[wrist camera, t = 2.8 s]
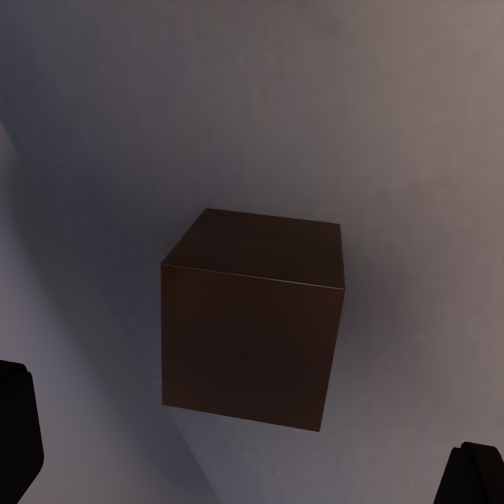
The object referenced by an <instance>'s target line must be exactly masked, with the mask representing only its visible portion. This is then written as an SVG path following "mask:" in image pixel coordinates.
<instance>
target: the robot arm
mask: <svg viewBox="0 0 504 504" xmlns="http://www.w3.org/2000/svg"><path fill="white" fill-rule="evenodd" d="M43 461H44V451H43V445H42V438H41V432H40V425H39V419H38V412H37V406H36V399H35V392H34V386H33V379H32V375H31V373H30V372H28V371H27V369H26V366H25V365H24V364H20V363H15V362H8V361H3V360H0V504H17V503H18V501H19V500H20V499H21V497H22V496H23V495H24V493H25V492H26V490H27V489H28V488H29V486H30V485H31V483H32V482H33V481H34V479H35V478H36V476H37V475H38V473H39V472H40V470H41V468H42V465H43ZM433 504H504V462H503V460H502V457H501V455H500V453H499V451H498V450H497V448H495V447H494V446H488V445H482V444H476V443H471V442H464V443H462V445H461V447H460V448H456V447H454V448H453V449H452V451H451V453H450V456H449V459H448V462H447V465H446V468H445V471H444V474H443V477H442V479H441V482H440V485H439V488H438V491H437V494H436V497H435V500H434V503H433Z"/></svg>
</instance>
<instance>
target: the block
mask: <svg viewBox="0 0 504 504" xmlns="http://www.w3.org/2000/svg"><path fill="white" fill-rule="evenodd" d="M344 295H345V277H344V265H343V253H342V240H341V228H340V225H339V224H331V223H323V222H314V221H306V220H298V219H290V218H281V217H273V216H265V215H257V214H248V213H240V212H232V211H224V210H215V209H207V208H206V209H205V210H204V211H203V213H202V214H201V215H200V216H199V217H198V219H197V220H196V221H195V222H194V224H193V225H192V226H191V227H190V228H189V230H188V231H187V232H186V233H185V235H184V236H183V237H182V238H181V239H180V241H179V242H178V243H177V244H176V245H175V247H174V248H173V249H172V250H171V252H170V253H169V254H168V255H167V256H166V258H165V259H164V260H163V261H162V262H161V346H162V405H166V406H172V407H178V408H184V409H190V410H195V411H201V412H207V413H213V414H218V415H224V416H230V417H236V418H241V419H247V420H253V421H259V422H265V423H270V424H276V425H282V426H288V427H293V428H299V429H305V430H311V431H316V432H319V431H320V427H321V422H322V416H323V411H324V405H325V400H326V394H327V389H328V383H329V378H330V372H331V367H332V361H333V356H334V350H335V345H336V339H337V334H338V328H339V323H340V317H341V311H342V306H343V300H344Z"/></svg>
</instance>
